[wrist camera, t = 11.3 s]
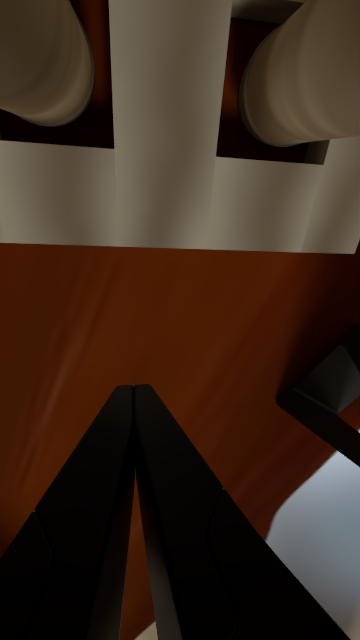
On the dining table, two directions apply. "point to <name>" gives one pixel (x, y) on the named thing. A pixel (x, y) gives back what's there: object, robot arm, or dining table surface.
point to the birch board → (179, 154)
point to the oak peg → (305, 77)
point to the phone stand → (329, 395)
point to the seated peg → (44, 62)
